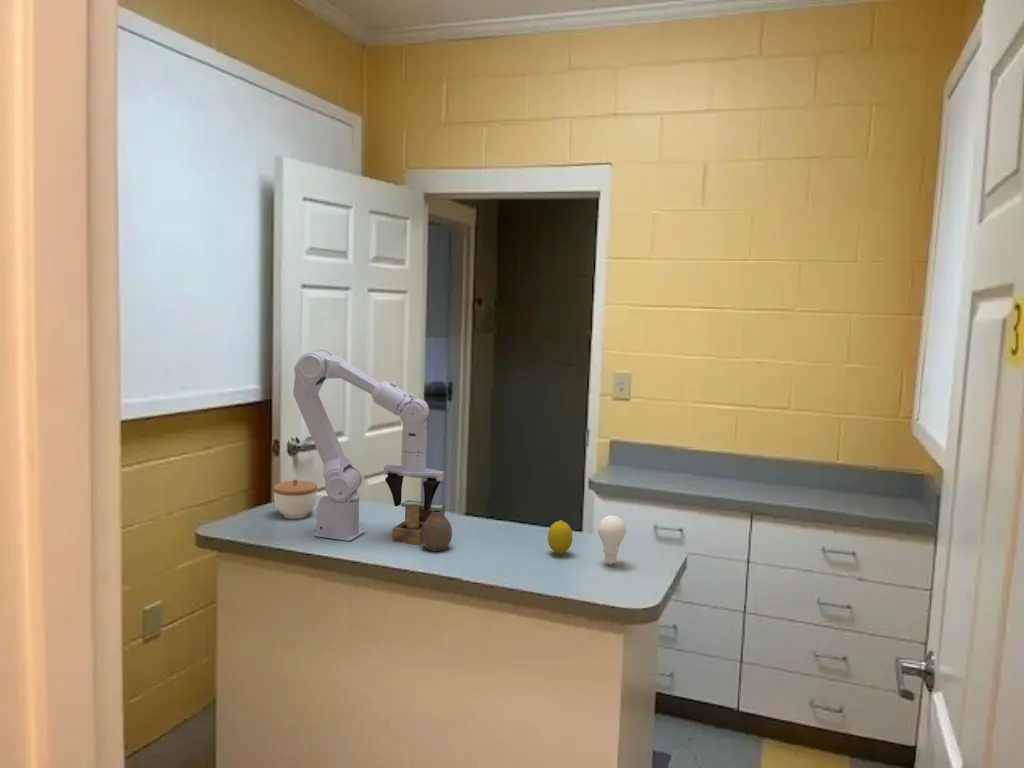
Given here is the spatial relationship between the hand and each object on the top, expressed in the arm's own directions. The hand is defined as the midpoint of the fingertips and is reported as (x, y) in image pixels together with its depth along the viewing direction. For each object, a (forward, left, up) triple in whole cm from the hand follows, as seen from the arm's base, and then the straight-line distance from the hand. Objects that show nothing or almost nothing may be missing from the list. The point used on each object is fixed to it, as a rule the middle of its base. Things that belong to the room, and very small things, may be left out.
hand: (412, 507), depth 182 cm
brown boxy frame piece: (0, +2, -8) cm, 8 cm away
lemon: (+35, +3, -8) cm, 36 cm away
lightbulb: (+47, +1, -8) cm, 48 cm away
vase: (+8, -4, -8) cm, 12 cm away
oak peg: (0, 0, -8) cm, 8 cm away
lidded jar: (-35, +5, -8) cm, 36 cm away
